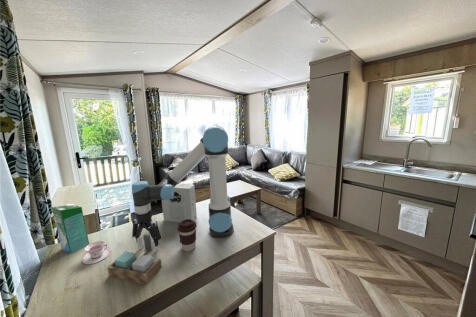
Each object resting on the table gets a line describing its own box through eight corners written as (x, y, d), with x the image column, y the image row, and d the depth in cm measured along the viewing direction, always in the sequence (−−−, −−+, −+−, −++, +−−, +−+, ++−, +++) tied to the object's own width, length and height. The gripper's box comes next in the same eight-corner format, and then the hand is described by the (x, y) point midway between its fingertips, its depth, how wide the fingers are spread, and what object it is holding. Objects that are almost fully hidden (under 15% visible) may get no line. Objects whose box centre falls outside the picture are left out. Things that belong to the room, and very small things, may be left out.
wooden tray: (161, 267, 89) (160, 258, 89) (146, 284, 80) (145, 275, 79) (127, 260, 95) (125, 252, 94) (109, 275, 85) (107, 267, 84)
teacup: (79, 268, 90) (77, 256, 89) (86, 252, 101) (83, 242, 100) (109, 259, 96) (107, 248, 94) (112, 245, 106) (110, 236, 105)
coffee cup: (201, 243, 106) (199, 219, 103) (191, 255, 97) (189, 228, 94) (186, 240, 109) (184, 216, 106) (175, 251, 100) (172, 225, 97)
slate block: (154, 269, 88) (152, 256, 87) (145, 280, 82) (143, 266, 81) (143, 267, 90) (141, 254, 88) (134, 277, 84) (131, 263, 83)
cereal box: (197, 218, 134) (194, 184, 129) (192, 223, 126) (189, 188, 121) (169, 215, 139) (166, 183, 134) (163, 220, 131) (159, 186, 126)
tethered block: (155, 248, 102) (153, 233, 101) (127, 275, 85) (124, 258, 83) (146, 247, 104) (144, 232, 102) (116, 273, 86) (113, 256, 85)
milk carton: (89, 243, 108) (81, 203, 103) (70, 253, 100) (60, 210, 95) (80, 239, 112) (72, 200, 107) (61, 249, 104) (51, 207, 99)
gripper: (166, 209, 98) (170, 248, 102) (131, 205, 104) (136, 242, 108) (156, 217, 91) (161, 257, 95) (120, 212, 96) (126, 251, 101)
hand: (148, 249), depth 102 cm, fingers open, 9 cm apart
